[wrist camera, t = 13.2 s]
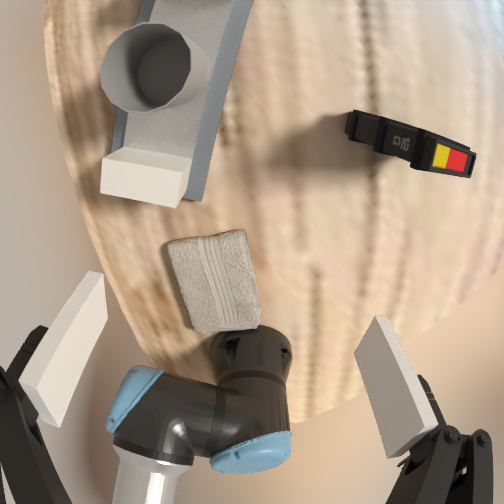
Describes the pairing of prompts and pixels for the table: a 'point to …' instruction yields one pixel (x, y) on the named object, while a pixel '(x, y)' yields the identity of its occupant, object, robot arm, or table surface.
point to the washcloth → (217, 281)
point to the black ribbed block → (411, 144)
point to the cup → (152, 68)
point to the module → (145, 176)
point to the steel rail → (190, 113)
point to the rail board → (214, 97)
